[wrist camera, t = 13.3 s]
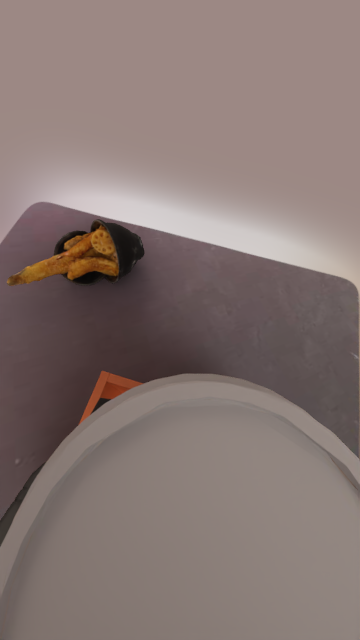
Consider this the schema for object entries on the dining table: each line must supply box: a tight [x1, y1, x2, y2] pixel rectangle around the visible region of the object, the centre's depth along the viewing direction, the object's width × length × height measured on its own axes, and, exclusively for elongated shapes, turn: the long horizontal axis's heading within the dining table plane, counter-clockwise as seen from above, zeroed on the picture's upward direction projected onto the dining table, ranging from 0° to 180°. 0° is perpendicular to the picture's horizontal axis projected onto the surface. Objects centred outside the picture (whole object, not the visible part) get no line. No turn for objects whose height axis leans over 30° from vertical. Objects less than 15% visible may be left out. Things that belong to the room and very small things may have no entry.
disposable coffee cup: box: [0, 374, 360, 640], centre depth 10 cm, size 10×10×12 cm
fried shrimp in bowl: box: [7, 219, 144, 286], centre depth 34 cm, size 9×11×18 cm
